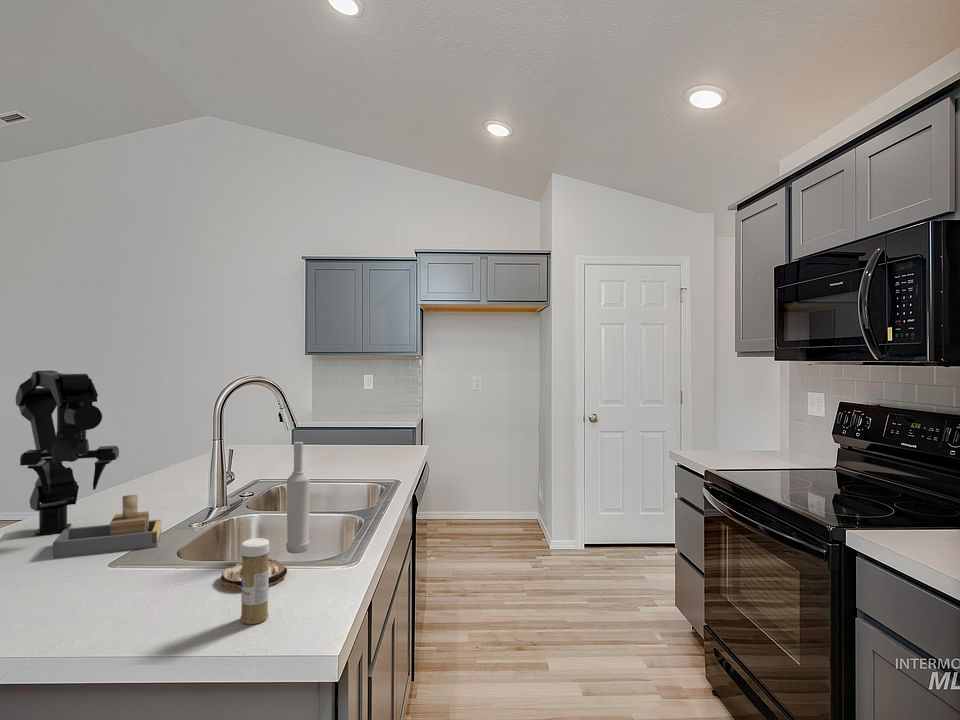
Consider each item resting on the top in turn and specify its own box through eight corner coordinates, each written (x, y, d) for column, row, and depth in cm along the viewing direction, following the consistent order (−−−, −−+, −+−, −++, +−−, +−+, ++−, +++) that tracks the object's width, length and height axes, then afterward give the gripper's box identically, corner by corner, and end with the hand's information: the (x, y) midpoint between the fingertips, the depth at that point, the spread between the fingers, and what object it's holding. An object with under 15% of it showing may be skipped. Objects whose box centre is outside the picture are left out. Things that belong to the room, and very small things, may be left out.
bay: (64, 543, 137) (65, 528, 137) (161, 533, 145) (161, 519, 145) (52, 558, 127) (52, 542, 127) (156, 546, 135) (156, 531, 135)
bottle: (314, 548, 135) (314, 441, 135) (298, 555, 131) (299, 445, 130) (297, 544, 138) (297, 440, 137) (281, 551, 133) (281, 443, 133)
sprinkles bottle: (235, 619, 99) (235, 541, 99) (260, 610, 103) (260, 535, 103) (249, 628, 96) (249, 547, 96) (274, 618, 100) (274, 541, 100)
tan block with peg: (115, 534, 140) (115, 493, 140) (149, 531, 143) (149, 491, 143) (109, 545, 132) (109, 501, 132) (145, 541, 135) (145, 498, 135)
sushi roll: (298, 588, 114) (298, 567, 114) (215, 602, 107) (215, 579, 107) (288, 563, 127) (288, 544, 127) (213, 573, 121) (213, 554, 121)
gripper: (12, 432, 127) (12, 503, 127) (111, 428, 135) (111, 495, 135) (27, 426, 137) (27, 491, 137) (119, 423, 145) (119, 485, 145)
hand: (71, 491), depth 139 cm, fingers open, 9 cm apart
